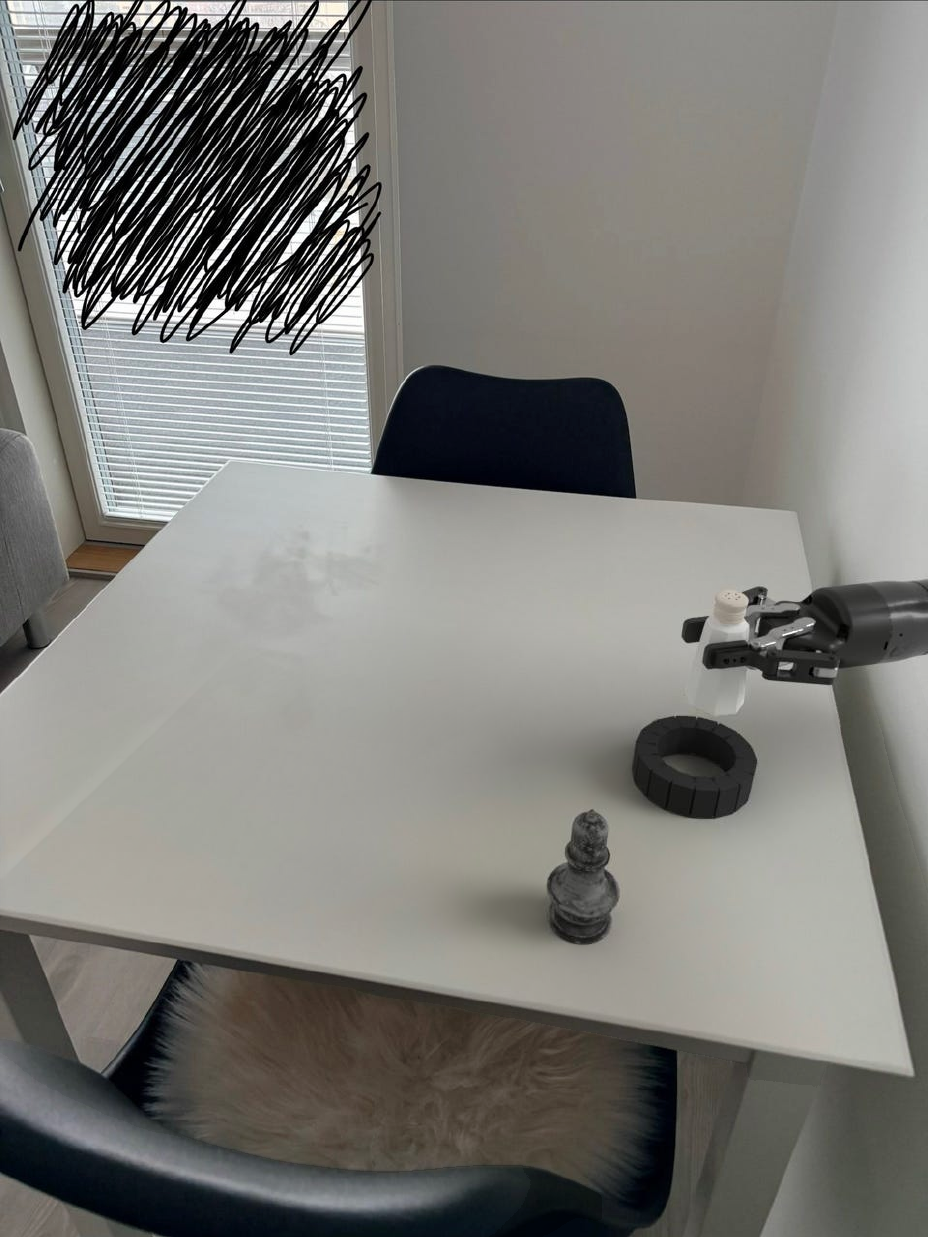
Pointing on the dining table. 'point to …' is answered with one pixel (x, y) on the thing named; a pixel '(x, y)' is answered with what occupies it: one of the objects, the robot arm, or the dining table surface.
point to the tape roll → (687, 790)
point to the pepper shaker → (720, 686)
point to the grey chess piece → (583, 884)
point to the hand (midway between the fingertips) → (695, 644)
